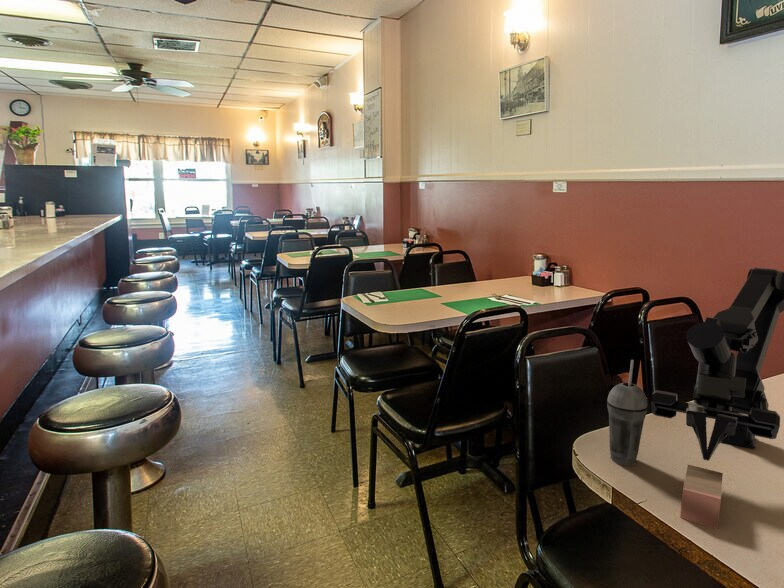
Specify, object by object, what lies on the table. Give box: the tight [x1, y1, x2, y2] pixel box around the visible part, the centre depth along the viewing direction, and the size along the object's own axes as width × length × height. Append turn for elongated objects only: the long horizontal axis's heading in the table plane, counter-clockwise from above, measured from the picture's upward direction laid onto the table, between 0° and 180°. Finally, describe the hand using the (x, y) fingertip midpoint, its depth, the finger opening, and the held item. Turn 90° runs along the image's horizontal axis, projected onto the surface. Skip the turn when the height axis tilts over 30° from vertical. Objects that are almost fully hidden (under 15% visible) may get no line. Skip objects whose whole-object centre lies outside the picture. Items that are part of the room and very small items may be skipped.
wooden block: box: [679, 464, 724, 529], centre depth 81 cm, size 5×5×9 cm
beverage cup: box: [606, 359, 649, 467], centre depth 95 cm, size 7×7×20 cm
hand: (706, 459), depth 84 cm, fingers closed
